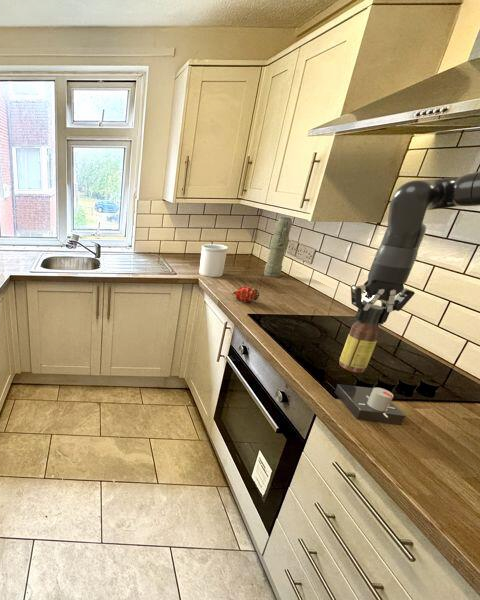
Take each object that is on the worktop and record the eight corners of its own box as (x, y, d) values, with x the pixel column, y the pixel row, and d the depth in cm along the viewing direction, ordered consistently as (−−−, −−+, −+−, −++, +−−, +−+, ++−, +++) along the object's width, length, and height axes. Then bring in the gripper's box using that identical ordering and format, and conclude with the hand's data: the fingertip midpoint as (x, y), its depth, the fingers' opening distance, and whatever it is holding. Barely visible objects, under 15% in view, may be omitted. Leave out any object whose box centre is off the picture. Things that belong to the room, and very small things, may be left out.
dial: (363, 402, 84) (369, 388, 82) (373, 399, 85) (379, 385, 83) (380, 413, 80) (387, 397, 78) (390, 409, 81) (398, 394, 79)
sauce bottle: (367, 370, 93) (396, 308, 85) (359, 376, 89) (389, 313, 82) (340, 359, 98) (365, 300, 90) (332, 365, 94) (358, 304, 87)
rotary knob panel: (373, 397, 90) (377, 388, 89) (405, 429, 79) (410, 420, 78) (334, 392, 92) (337, 383, 91) (360, 423, 81) (364, 414, 80)
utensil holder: (193, 273, 198) (197, 246, 192) (204, 269, 208) (209, 242, 201) (216, 279, 188) (221, 250, 182) (227, 274, 198) (232, 246, 191)
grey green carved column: (266, 277, 191) (280, 219, 178) (261, 272, 202) (274, 216, 189) (282, 278, 189) (298, 219, 176) (276, 273, 200) (290, 216, 187)
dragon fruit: (259, 306, 154) (232, 306, 159) (258, 292, 159) (231, 292, 163) (261, 297, 148) (233, 297, 152) (260, 282, 152) (232, 282, 156)
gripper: (370, 264, 79) (347, 325, 86) (437, 268, 76) (409, 331, 83) (352, 257, 86) (333, 314, 92) (414, 260, 83) (389, 318, 90)
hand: (369, 322), depth 88 cm, fingers closed on sauce bottle, 4 cm apart
